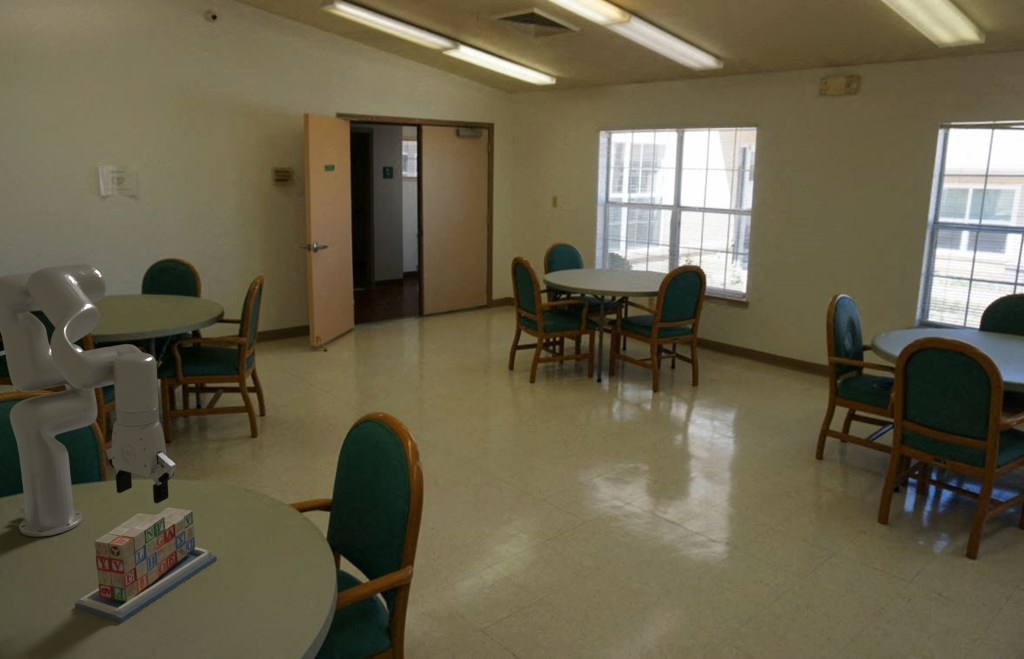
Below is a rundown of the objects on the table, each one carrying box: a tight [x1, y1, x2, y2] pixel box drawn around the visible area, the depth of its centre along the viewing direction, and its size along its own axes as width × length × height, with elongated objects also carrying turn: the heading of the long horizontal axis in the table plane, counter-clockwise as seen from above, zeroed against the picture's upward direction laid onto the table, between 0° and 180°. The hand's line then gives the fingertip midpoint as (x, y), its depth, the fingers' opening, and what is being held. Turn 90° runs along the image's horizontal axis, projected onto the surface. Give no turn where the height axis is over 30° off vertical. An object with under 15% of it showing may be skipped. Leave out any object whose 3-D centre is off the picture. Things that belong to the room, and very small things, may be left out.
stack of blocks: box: [94, 506, 196, 602], centre depth 153 cm, size 21×6×12 cm, turn 168°
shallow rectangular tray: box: [74, 546, 217, 623], centre depth 154 cm, size 12×25×2 cm, turn 159°
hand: (142, 495), depth 150 cm, fingers open, 9 cm apart
